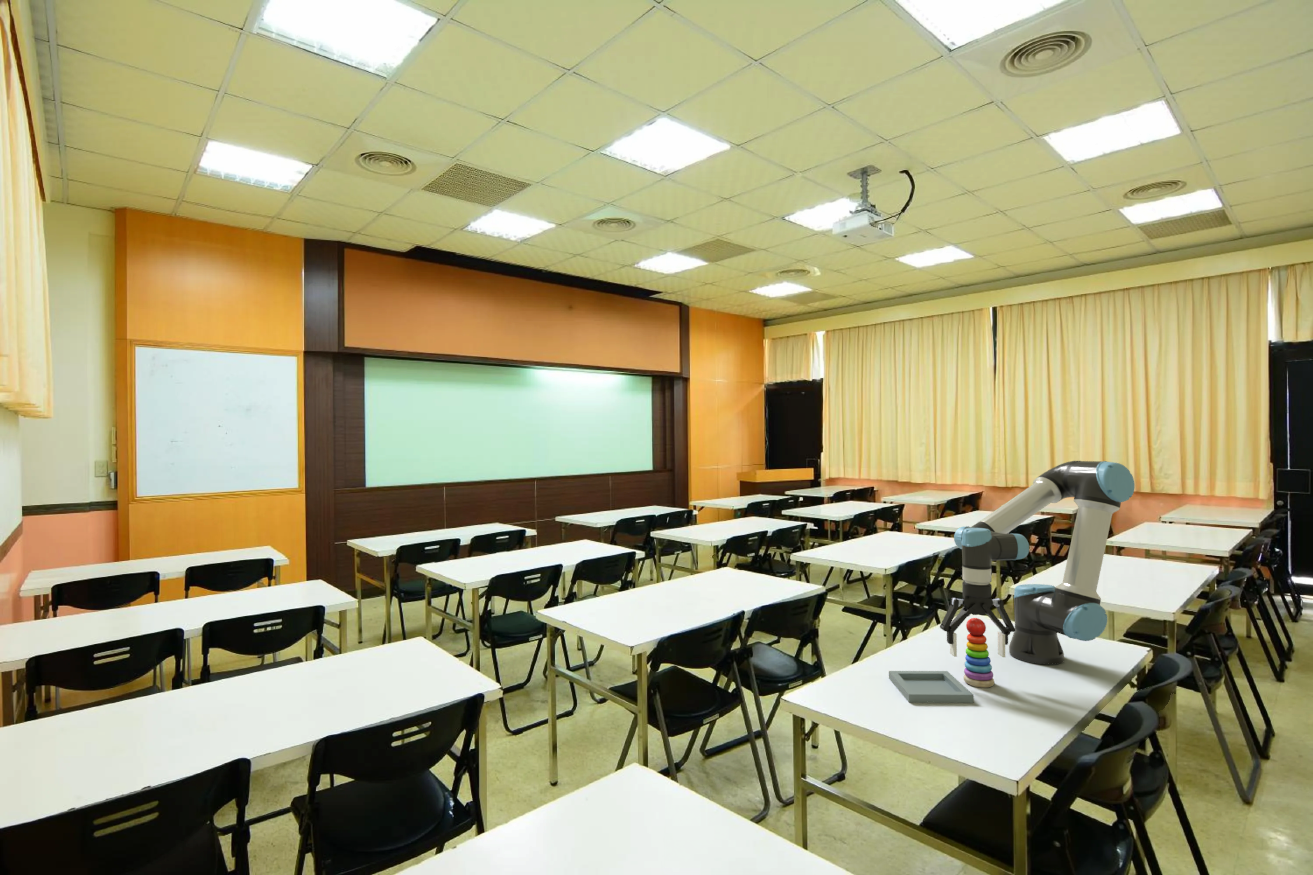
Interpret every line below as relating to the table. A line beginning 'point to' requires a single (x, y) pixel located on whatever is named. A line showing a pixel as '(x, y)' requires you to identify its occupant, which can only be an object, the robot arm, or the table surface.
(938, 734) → the table surface
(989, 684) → the stacking toy
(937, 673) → the gray square tray
